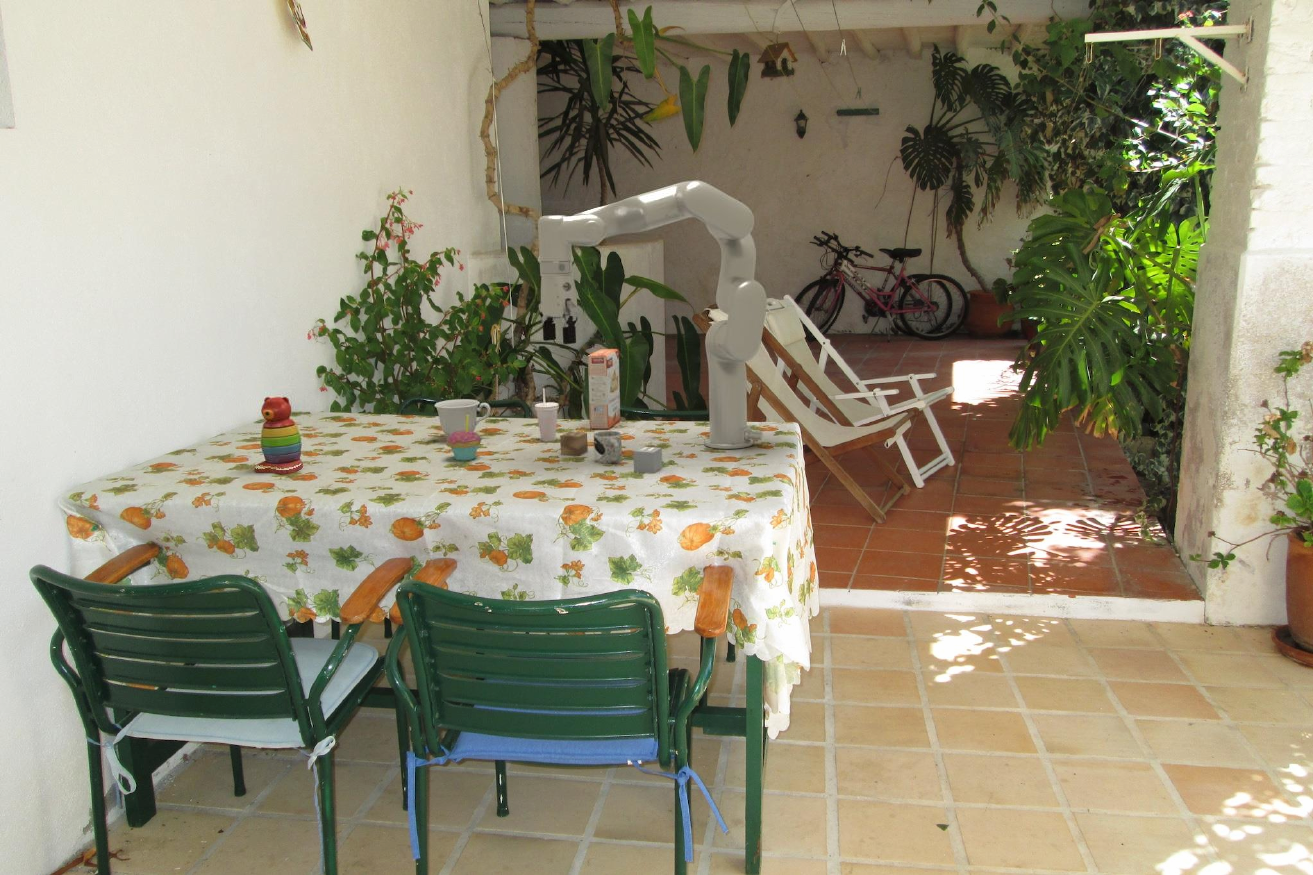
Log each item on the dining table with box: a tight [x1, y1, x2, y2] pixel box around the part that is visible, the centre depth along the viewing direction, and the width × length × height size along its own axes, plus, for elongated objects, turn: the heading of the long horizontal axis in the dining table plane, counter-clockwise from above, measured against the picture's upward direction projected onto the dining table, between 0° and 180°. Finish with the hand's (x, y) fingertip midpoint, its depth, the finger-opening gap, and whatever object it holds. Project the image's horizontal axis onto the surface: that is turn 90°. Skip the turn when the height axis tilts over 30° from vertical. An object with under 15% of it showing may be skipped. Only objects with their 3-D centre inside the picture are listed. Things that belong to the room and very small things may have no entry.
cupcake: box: [445, 412, 482, 462], centre depth 261 cm, size 9×8×12 cm
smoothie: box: [534, 387, 560, 443], centre depth 279 cm, size 6×6×14 cm
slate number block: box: [632, 446, 663, 474], centre depth 244 cm, size 5×5×5 cm
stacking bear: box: [253, 396, 304, 475], centre depth 255 cm, size 11×10×18 cm
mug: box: [593, 430, 623, 465], centre depth 253 cm, size 10×7×7 cm, turn 23°
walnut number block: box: [559, 431, 589, 457], centre depth 264 cm, size 5×5×5 cm
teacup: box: [434, 398, 492, 437], centre depth 284 cm, size 12×15×10 cm
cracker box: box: [587, 348, 621, 430], centre depth 297 cm, size 14×6×21 cm, turn 168°
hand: (559, 341), depth 250 cm, fingers open, 9 cm apart
